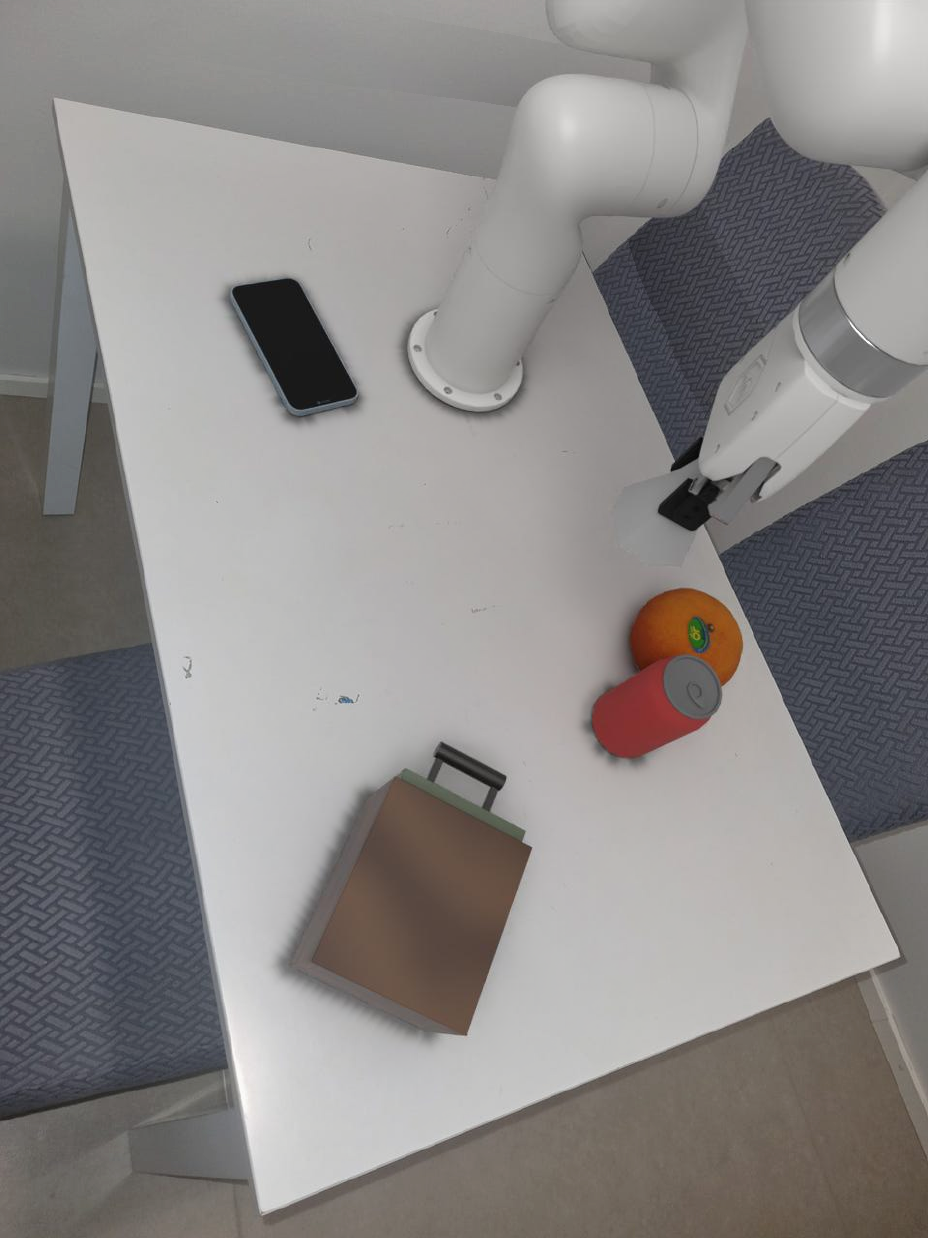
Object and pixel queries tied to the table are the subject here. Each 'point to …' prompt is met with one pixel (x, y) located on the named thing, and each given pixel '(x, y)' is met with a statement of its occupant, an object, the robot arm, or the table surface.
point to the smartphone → (293, 345)
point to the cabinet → (414, 909)
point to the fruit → (687, 631)
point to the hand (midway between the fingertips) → (682, 498)
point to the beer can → (657, 706)
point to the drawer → (473, 770)
